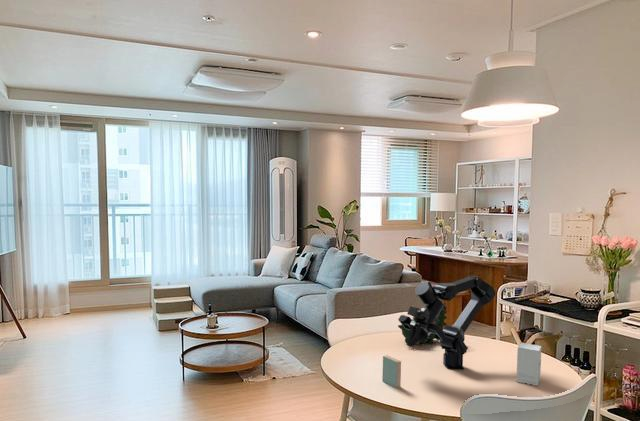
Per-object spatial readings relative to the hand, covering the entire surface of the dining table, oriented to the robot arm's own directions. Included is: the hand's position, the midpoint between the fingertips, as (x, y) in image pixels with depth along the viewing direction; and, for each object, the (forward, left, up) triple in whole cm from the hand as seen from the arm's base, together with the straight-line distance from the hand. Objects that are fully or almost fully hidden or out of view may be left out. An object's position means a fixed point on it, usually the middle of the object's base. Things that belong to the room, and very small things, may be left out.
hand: (409, 345), depth 165 cm
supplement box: (-44, +1, -12) cm, 46 cm away
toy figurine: (-16, -43, -12) cm, 48 cm away
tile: (+7, +5, -12) cm, 15 cm away
